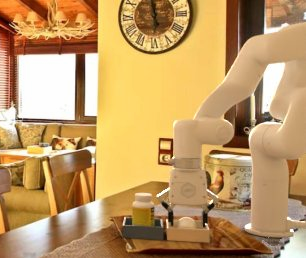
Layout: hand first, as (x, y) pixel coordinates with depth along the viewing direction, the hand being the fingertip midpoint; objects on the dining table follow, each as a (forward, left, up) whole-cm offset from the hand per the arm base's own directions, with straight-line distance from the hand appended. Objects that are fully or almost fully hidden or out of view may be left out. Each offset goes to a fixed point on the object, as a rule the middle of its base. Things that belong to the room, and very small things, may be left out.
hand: (187, 225), depth 144 cm
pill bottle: (+12, 0, -3) cm, 12 cm away
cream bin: (0, 0, -3) cm, 3 cm away
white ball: (0, 0, -3) cm, 3 cm away
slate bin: (+12, 0, -3) cm, 13 cm away
